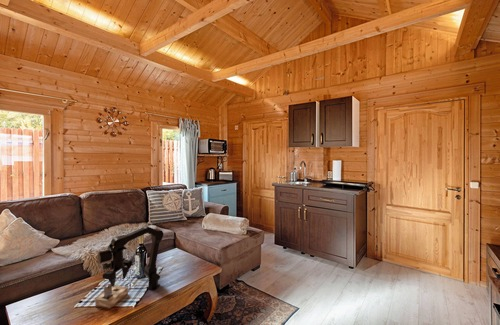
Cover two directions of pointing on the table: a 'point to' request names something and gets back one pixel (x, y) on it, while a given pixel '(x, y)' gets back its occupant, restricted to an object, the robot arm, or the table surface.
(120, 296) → the bore block
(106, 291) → the peg
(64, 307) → the table surface
